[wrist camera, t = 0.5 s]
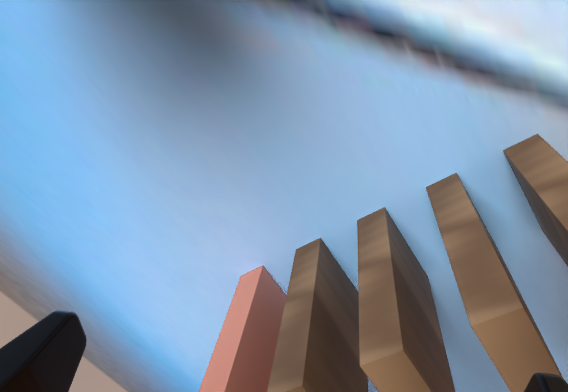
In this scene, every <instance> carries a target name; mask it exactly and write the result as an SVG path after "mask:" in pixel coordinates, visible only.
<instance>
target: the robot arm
mask: <svg viewBox="0 0 568 392" xmlns="http://www.w3.org/2000/svg"><path fill="white" fill-rule="evenodd" d="M85 347H86V335H85V332H84V330H83V327H82V325H81V322H80V320H79V317H78V315H77V314H76V313H74V312H68V311H55V312H53V313H51V314H49V315H48V316H46V317H45V318H44V319H42V320H41V321H39V322H38V323H36V324H35V325H34V326H32V327H31V328H29V329H28V330H26V331H25V332H24V333H22V334H21V335H19V336H18V337H16V338H15V339H13V340H12V341H11V342H9V343H8V344H6V345H5V346H3V347H2V348H1V349H0V392H68V391H69V388H70V386H71V384H72V381H73V378H74V376H75V373H76V370H77V367H78V365H79V363H80V360H81V358H82V355H83V352H84V350H85ZM524 392H568V384H567V382H566V381H565V380H564V379H563V378H562V377H560V376H558V375H556V374H549V373H541V372H537V373H535V374H533V376H532V377H531V379H530V381H529V383H528V385H527V387H526V388H525V390H524Z"/></svg>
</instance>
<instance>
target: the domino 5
mask: <svg viewBox="0 0 568 392" xmlns="http://www.w3.org/2000/svg"><path fill="white" fill-rule="evenodd" d="M503 151H504V153H505V155H506V157H507V159H508V161H509V164H510V166H511V168H512V170H513V172H514V174H515V176H516V178H517V180H518V182H519V184H520V186H521V188H522V190H523V192H524V194H525V196H526V198H527V200H528V202H529V204H530V206H531V208H532V210H533V212H534V214H535V216H536V218H537V220H538V222H539V224H540V227H541V229H542V231H543V232H544V233H545V235H546V236H547V238H548V239H549V240H550V242H551V243H552V245H553V246H554V247H555V249H556V250H557V252H558V253H559V254H560V256H561V257H562V259H563V260H564V262H565V263H566V264H567V266H568V162H567V161H566V160H565V159H564V158H563V157H562V156H561V155H560V154H559V153H558V152H557V151H556V150H554V149H553V148H552V147H551V146H550V145H549V144H548V143H547V142H546V141H545V140H544V139H543V138H541V137H540V136H539V135H538V134H536V135H534V136H532V137H530V138H528V139H526V140H524V141H522V142H520V143H518V144H516V145H513V146H511V147H509V148H507V149H505V150H503Z"/></svg>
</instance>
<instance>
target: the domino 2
mask: <svg viewBox="0 0 568 392" xmlns="http://www.w3.org/2000/svg"><path fill="white" fill-rule="evenodd" d="M267 392H368V376H367V375H366V373H365V372H364V371H363V369H362V368H361V367H360V350H359V293H358V291H357V290H356V288H355V287H354V285H353V284H352V283H351V281H350V280H349V278H348V277H347V275H346V274H345V272H344V271H343V270H342V268H341V267H340V265H339V264H338V262H337V261H336V260H335V258H334V257H333V255H332V254H331V252H330V251H329V249H328V248H327V247H326V245H325V244H324V242H323V241H322V239H321V238H319V239H317V240H315V241H313V242H311V243H309V244H307V245H305V246H303V247H300V248H298V249H296V253H295V258H294V263H293V267H292V272H291V277H290V282H289V287H288V292H287V297H286V302H285V307H284V311H283V316H282V321H281V326H280V331H279V336H278V341H277V346H276V351H275V355H274V360H273V365H272V370H271V375H270V380H269V385H268V390H267Z"/></svg>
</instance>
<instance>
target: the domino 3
mask: <svg viewBox="0 0 568 392" xmlns="http://www.w3.org/2000/svg"><path fill="white" fill-rule="evenodd" d="M357 225H358V287H359V350H360V367H361V368H362V369H363V371H364V372H365V373H366V375H367V376H368V377H369V379H370V380H371V381H372V383H373V384H374V385H375V387H376V388H377V390H378V391H379V392H455V389H454V385H453V380H452V376H451V372H450V368H449V364H448V359H447V355H446V351H445V347H444V343H443V339H442V334H441V330H440V326H439V322H438V318H437V313H436V309H435V305H434V301H433V297H432V292H431V288H430V284H429V280H428V276H427V275H426V273H425V272H424V270H423V268H422V267H421V265H420V263H419V262H418V260H417V259H416V257H415V255H414V254H413V252H412V251H411V249H410V247H409V246H408V244H407V243H406V241H405V239H404V238H403V236H402V234H401V233H400V231H399V230H398V228H397V226H396V225H395V223H394V222H393V220H392V218H391V217H390V215H389V214H388V212H387V210H386V209H385V207H384V208H382V209H380V210H378V211H376V212H374V213H372V214H369V215H367V216H365V217H363V218H361V219H359V220H357Z"/></svg>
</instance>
